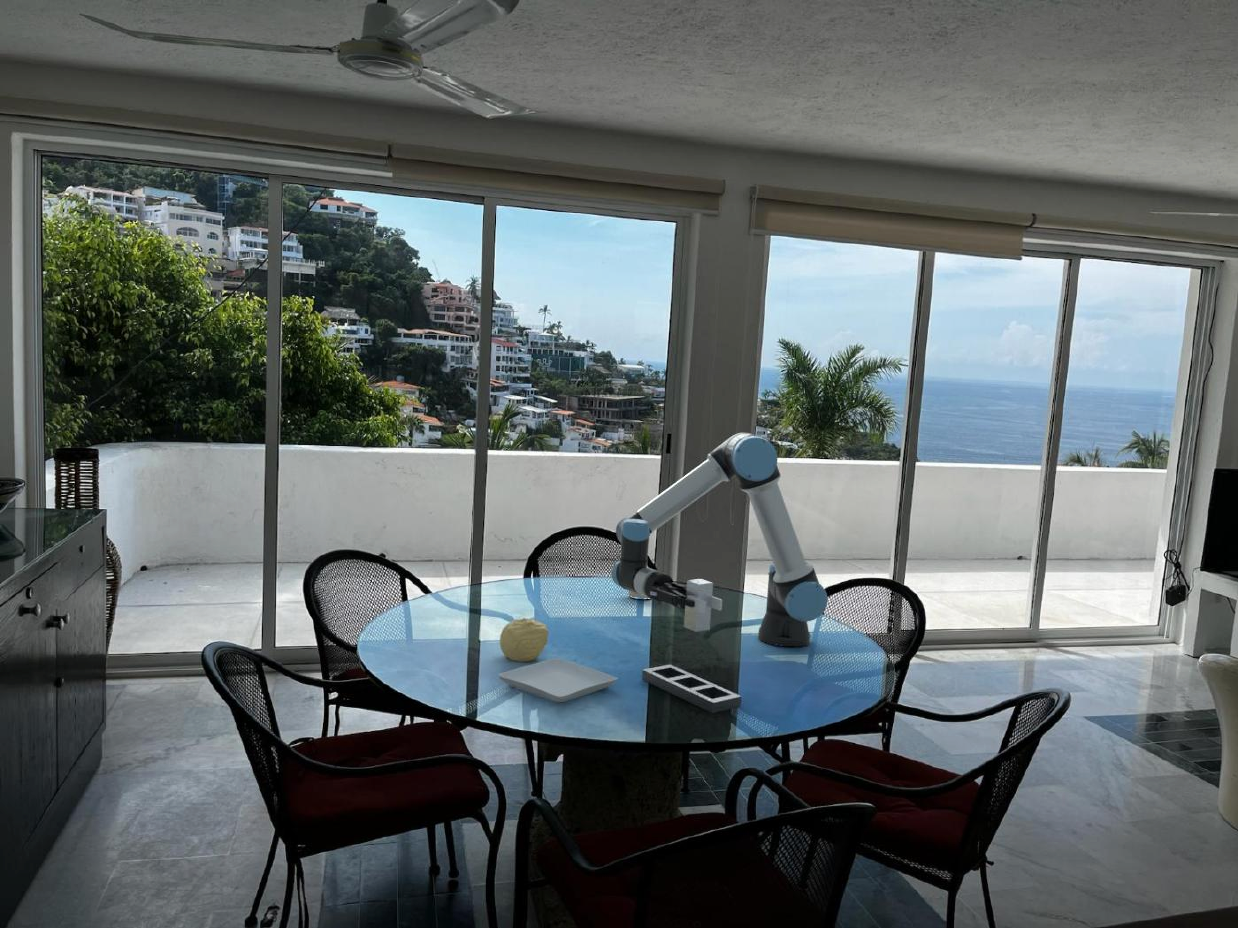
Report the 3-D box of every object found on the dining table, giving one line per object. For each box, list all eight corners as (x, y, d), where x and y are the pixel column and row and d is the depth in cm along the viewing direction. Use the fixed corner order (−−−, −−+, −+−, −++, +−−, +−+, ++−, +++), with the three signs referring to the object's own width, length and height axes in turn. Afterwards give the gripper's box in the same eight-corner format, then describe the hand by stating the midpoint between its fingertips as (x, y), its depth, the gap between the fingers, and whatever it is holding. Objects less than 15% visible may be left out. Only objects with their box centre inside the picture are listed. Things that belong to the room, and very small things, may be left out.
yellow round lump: (514, 667, 241) (516, 626, 240) (491, 654, 251) (493, 614, 250) (552, 661, 248) (554, 621, 247) (529, 648, 257) (531, 610, 256)
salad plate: (555, 668, 244) (556, 655, 243) (619, 690, 230) (620, 676, 230) (494, 687, 227) (495, 673, 227) (559, 711, 214) (560, 697, 213)
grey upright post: (697, 624, 242) (701, 578, 241) (709, 629, 238) (713, 582, 237) (683, 626, 239) (687, 580, 238) (695, 631, 236) (699, 584, 234)
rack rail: (669, 673, 243) (670, 664, 243) (740, 706, 223) (741, 696, 223) (641, 679, 238) (642, 669, 238) (712, 713, 218) (713, 702, 217)
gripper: (679, 595, 258) (738, 617, 239) (626, 601, 248) (684, 624, 229) (681, 568, 257) (740, 588, 239) (628, 573, 247) (686, 594, 228)
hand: (712, 606), depth 234 cm, fingers closed on grey upright post, 5 cm apart
